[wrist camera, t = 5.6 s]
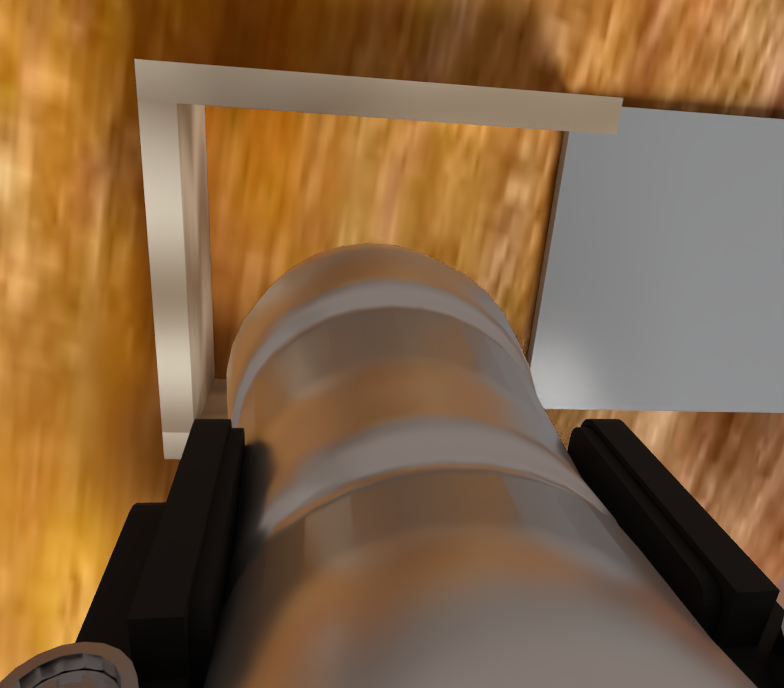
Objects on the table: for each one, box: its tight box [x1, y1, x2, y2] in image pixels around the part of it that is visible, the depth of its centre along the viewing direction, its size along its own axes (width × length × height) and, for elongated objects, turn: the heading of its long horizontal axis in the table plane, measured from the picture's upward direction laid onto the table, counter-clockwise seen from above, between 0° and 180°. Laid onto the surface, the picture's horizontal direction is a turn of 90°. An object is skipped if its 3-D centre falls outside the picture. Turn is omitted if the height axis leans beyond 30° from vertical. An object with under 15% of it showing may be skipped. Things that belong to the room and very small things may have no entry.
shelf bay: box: [134, 59, 623, 459], centre depth 25 cm, size 14×16×5 cm
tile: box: [527, 107, 784, 413], centre depth 29 cm, size 14×14×1 cm
